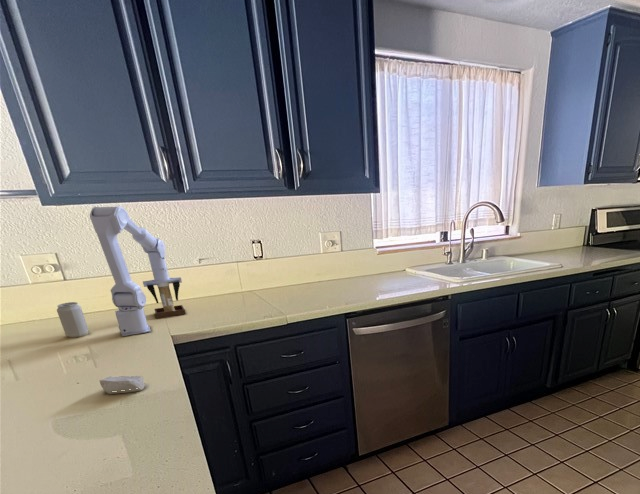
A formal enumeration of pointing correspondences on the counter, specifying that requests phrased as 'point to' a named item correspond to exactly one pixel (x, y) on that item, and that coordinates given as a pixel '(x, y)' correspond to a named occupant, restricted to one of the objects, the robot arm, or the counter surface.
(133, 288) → the robot arm
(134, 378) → the grey rock
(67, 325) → the can
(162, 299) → the sprinkles bottle
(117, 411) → the counter surface
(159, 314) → the tray
